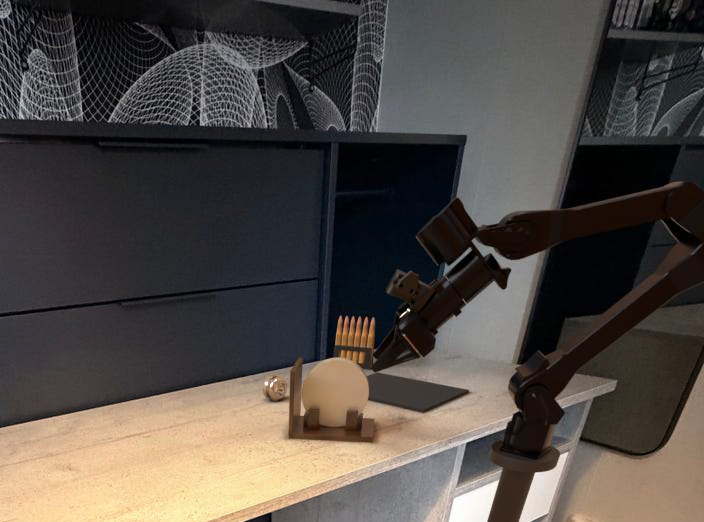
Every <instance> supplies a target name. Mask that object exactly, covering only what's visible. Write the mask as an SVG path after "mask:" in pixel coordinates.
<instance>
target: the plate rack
mask: <svg viewBox="0 0 704 522" xmlns="http://www.w3.org/2000/svg"><path fill="white" fill-rule="evenodd" d="M303 362H304V361H303V357H298V358H297V360H296V361H295V363H294V364H293V365H292V368H291V369H290V371H289V396H288V397H289V400H288V401H289V402H288V405H289V406H288V436H287V437H288V439H294V440H296V439H297V440H298V439H299V440H315V441H317V440H318V441H319V440H320V441H337V442H338V441H339V442H357V443H359V442H360V443H373V440H374V431H375V419H376V418H371V417H370V418H369V417H364V412H362V413H361V414H360V415H359V416H358V410H347V415H346V425H343V426H339V427H328V426H324V425H321V424H319V409H308V414H307V412H306V410H304V411H305V412H304V414H303V415H301V413H302V411H301V410H302V388H303V384H302V383H303Z"/></svg>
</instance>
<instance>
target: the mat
mask: <svg viewBox="0 0 704 522" xmlns="http://www.w3.org/2000/svg"><path fill="white" fill-rule="evenodd" d="M366 376H367V379H368V382H369V397H368V401H372V402H376V403H381V404H385V405H388V406H389V405H390V406H392V407H393V406H394V407H398V408H402V409H406V410H410V411H415V412H418V413H423V414H424V413H426V412H428V411H430V410H432V409H435V408H437V407H439V406H440V407H441V406H442V405H444V404H446V403H449V402H450V401H453V400H456V399H457V398H460V397H462V396H465V395H467V394H468V393H470V389H467V388H462V387H456V386H452V385H446V384H441V383H435V382H430V381H425V380H419V379H414V378H410V377H409V378H408V377H404V376H398V375H393V374H387V373H383V372H379V371H378V372H373V373H371V374H369V375H368V374H367V375H366Z"/></svg>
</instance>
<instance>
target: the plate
mask: <svg viewBox="0 0 704 522" xmlns="http://www.w3.org/2000/svg"><path fill="white" fill-rule="evenodd" d="M367 376H368V375H367V374H366V372H365V371H364V369H363V368H361V367H360V366H359V365H358V364H356V363H355V362H353V361H351V360H349V359H346V358H333V357H330V358H327V359H324V360H322V361H320V362H319V363H316V365H314V366H313V368H312V369H310V371H309V372H308V374H307V375H306V377H305V379H304V381H303V384H302V389H301V403H302V406H303V409H304V411H306V412H307V414H308V409H319V424H321V425H324V426H328V427H339V426H343V425H346V415H347V410H358V416H359V415H360V414H361V413H364V410H365V409H366V406H367V404H368V401H369V400H368V397H369V382H368V379H367Z"/></svg>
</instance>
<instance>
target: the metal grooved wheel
mask: <svg viewBox="0 0 704 522" xmlns="http://www.w3.org/2000/svg"><path fill="white" fill-rule="evenodd" d="M287 392H288V383H287V381H286V379H285V378H284V377H282V376H278V375H274V374H273V375H269V376H268V377H266V379H265V380H264V382H263V385H262V393H263V396H264V397H265V399H269V400H272V401H275V402H278V401H281V400H283V399H284V397H285V396H286V394H287Z"/></svg>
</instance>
